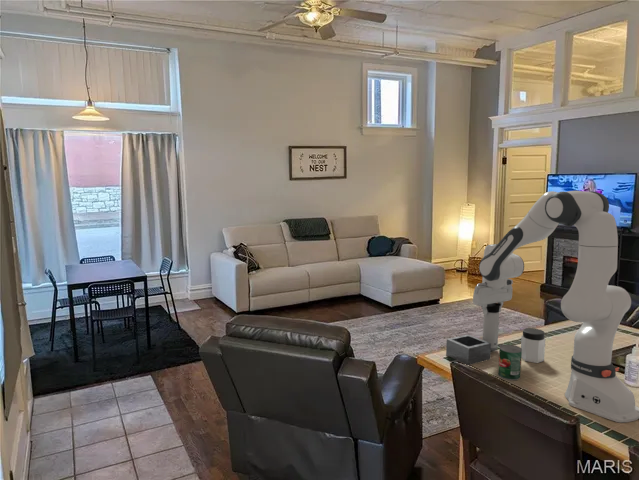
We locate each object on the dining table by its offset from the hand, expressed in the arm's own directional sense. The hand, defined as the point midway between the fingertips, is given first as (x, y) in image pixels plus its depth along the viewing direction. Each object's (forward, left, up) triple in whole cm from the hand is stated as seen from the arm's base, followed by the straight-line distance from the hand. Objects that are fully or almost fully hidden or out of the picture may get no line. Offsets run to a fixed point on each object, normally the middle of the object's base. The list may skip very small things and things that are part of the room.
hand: (491, 312), depth 201 cm
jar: (-15, -8, -17) cm, 24 cm away
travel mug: (0, 0, -16) cm, 16 cm away
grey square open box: (-1, +14, -17) cm, 22 cm away
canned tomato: (-22, +14, -17) cm, 31 cm away
